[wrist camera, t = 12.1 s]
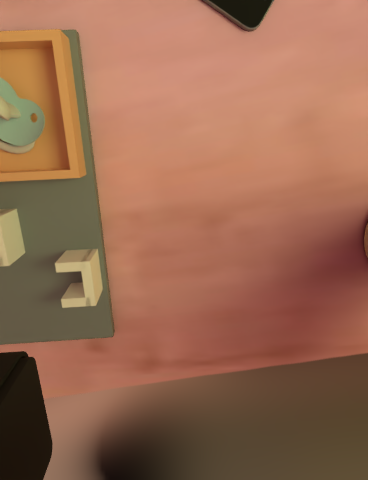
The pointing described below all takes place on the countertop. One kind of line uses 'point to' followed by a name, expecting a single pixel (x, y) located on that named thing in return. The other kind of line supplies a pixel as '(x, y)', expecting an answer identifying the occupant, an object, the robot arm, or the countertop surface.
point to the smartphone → (242, 11)
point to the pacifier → (18, 121)
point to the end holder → (43, 104)
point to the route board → (55, 249)
